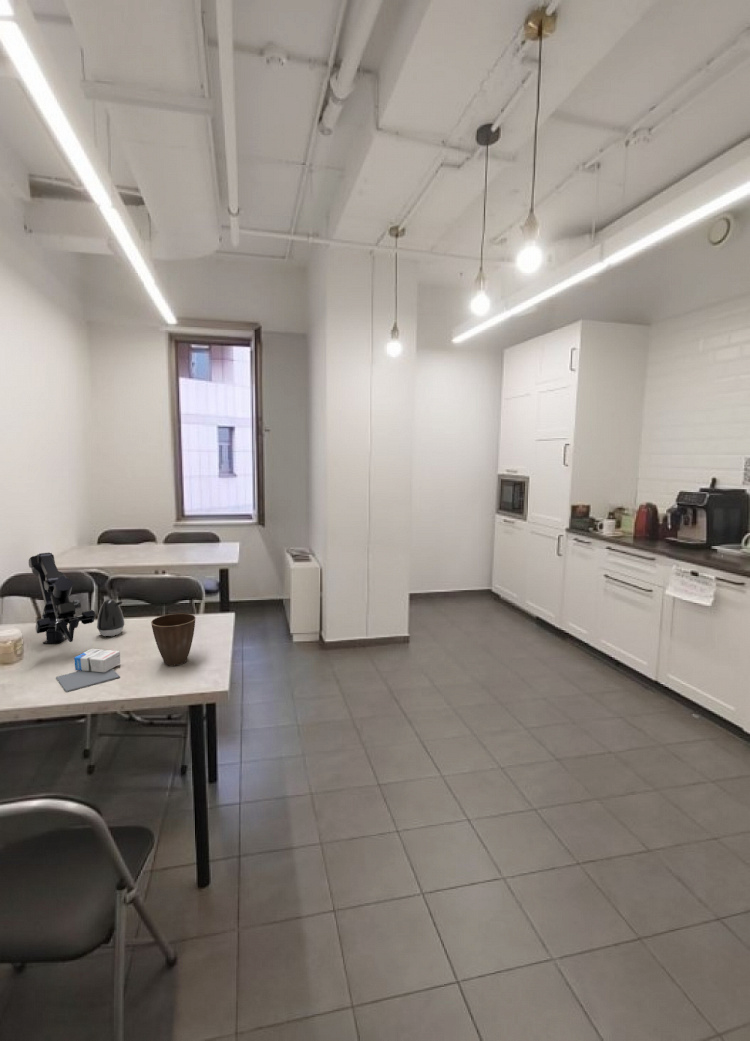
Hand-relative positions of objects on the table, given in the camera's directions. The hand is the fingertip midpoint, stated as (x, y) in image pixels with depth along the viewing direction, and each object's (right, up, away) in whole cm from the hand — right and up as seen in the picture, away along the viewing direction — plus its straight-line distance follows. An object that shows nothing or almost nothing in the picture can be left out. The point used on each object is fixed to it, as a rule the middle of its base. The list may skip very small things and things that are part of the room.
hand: (71, 641), depth 187 cm
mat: (+14, -9, -14) cm, 22 cm away
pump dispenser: (0, -4, +28) cm, 28 cm away
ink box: (+7, -5, -5) cm, 10 cm away
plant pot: (+38, -8, 0) cm, 39 cm away
